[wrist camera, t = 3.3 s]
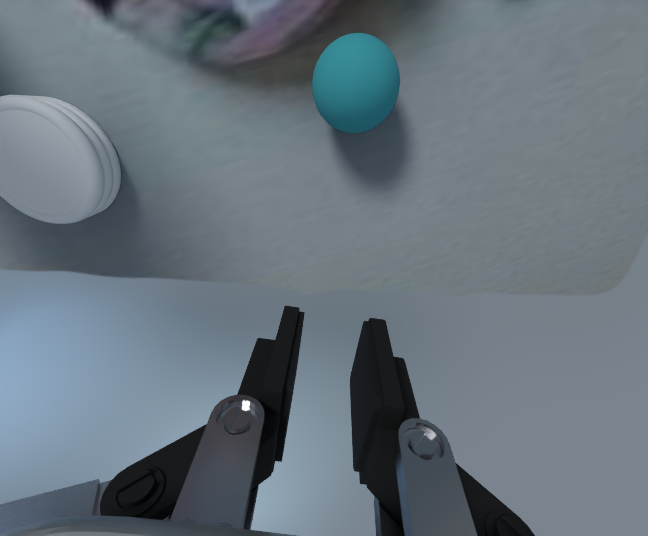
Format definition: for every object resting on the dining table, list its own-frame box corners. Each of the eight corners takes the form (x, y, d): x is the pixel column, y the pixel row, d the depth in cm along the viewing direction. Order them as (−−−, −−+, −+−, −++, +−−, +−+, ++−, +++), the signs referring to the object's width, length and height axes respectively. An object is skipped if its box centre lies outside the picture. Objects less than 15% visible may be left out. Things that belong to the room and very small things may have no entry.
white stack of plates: (140, 145, 28) (114, 150, 25) (104, 233, 32) (78, 247, 28) (21, 68, 26) (-23, 62, 22) (-2, 173, 29) (-43, 180, 26)
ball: (349, 147, 27) (352, 156, 21) (299, 86, 25) (288, 80, 20) (408, 91, 25) (427, 85, 19) (358, 21, 23) (364, -6, 18)
